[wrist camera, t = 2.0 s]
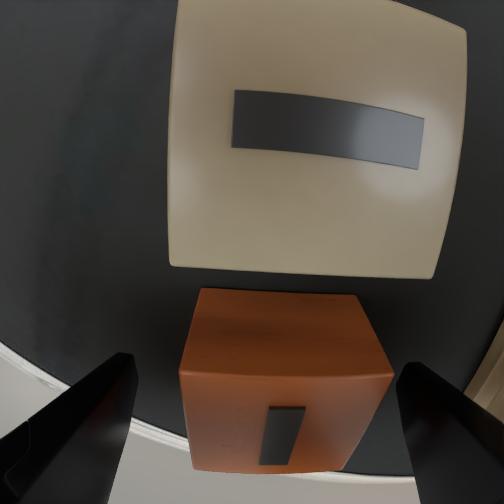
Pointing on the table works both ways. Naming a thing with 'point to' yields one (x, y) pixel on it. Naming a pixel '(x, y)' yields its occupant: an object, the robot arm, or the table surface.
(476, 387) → the pattern board
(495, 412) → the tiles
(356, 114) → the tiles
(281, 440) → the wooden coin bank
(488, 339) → the table surface
